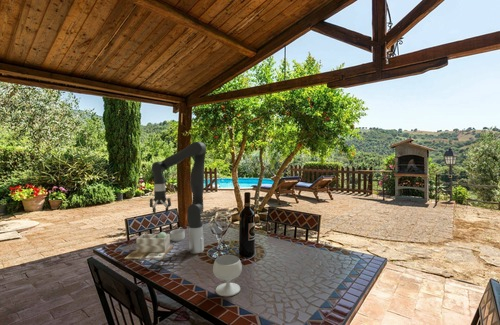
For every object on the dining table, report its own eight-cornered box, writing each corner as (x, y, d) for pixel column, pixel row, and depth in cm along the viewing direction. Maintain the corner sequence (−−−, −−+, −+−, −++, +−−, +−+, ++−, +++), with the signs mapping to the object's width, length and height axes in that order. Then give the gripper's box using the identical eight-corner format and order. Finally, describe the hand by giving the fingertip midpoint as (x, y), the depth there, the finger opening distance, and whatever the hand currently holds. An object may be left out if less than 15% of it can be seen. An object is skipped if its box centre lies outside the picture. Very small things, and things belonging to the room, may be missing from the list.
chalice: (207, 290, 121) (207, 260, 121) (229, 279, 131) (229, 251, 130) (225, 302, 111) (225, 269, 111) (248, 289, 121) (247, 259, 120)
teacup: (182, 243, 187) (182, 232, 186) (168, 243, 187) (167, 233, 187) (187, 237, 201) (187, 227, 200) (174, 237, 201) (173, 227, 201)
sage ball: (161, 243, 173) (169, 237, 176) (160, 241, 168) (168, 235, 171) (156, 237, 175) (163, 231, 178) (155, 235, 170) (162, 229, 172)
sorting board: (174, 247, 179) (174, 233, 178) (162, 261, 156) (161, 244, 155) (140, 247, 180) (140, 233, 179) (123, 261, 157) (122, 245, 156)
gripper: (171, 189, 178) (172, 211, 179) (152, 189, 179) (152, 211, 179) (168, 190, 171) (168, 214, 171) (147, 191, 171) (148, 214, 172)
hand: (160, 212), depth 175 cm, fingers open, 8 cm apart
